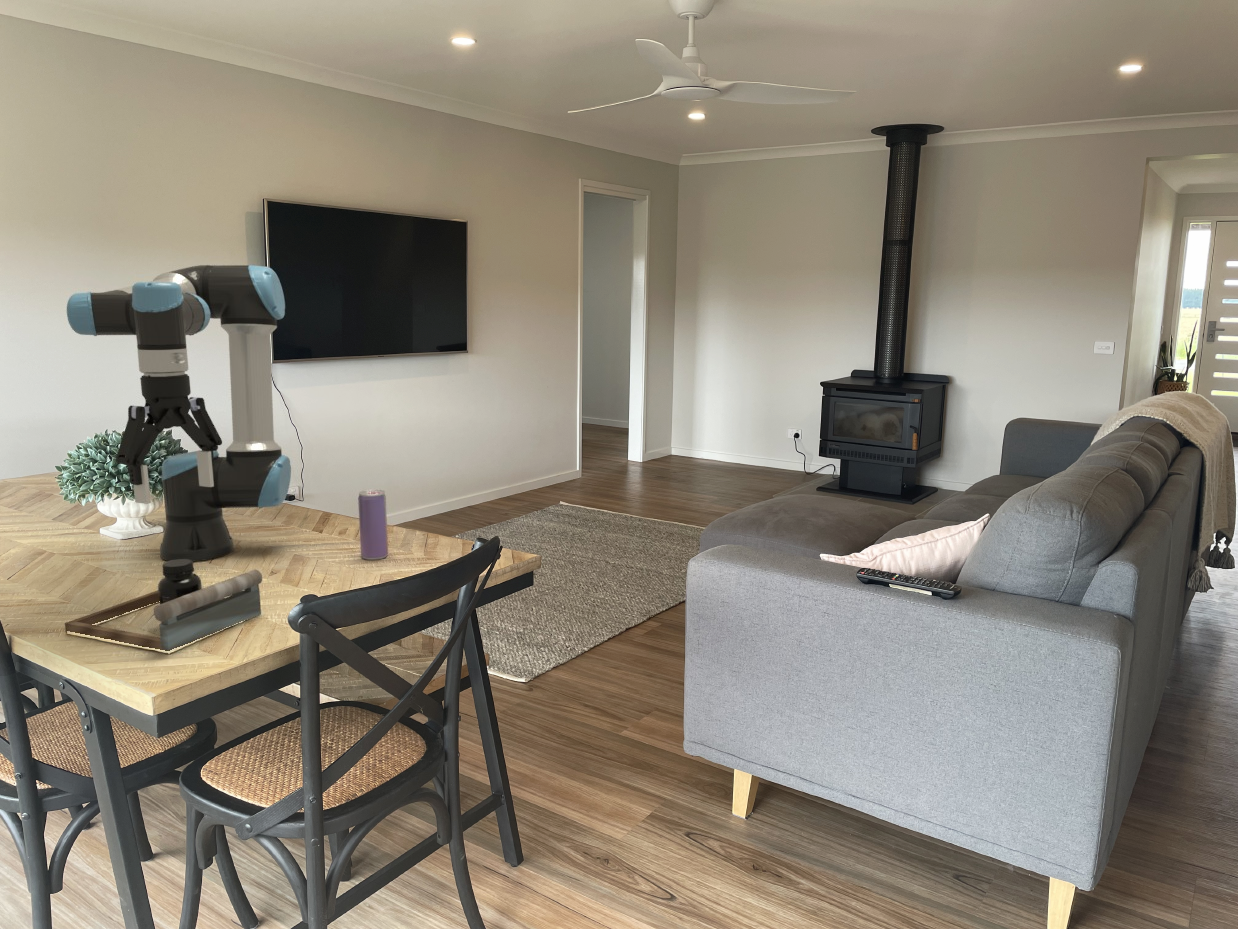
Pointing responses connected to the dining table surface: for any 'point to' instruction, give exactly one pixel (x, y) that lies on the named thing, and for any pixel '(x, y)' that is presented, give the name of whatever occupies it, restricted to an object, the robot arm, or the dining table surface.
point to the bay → (186, 626)
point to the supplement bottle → (178, 580)
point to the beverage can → (373, 524)
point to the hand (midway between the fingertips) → (176, 494)
